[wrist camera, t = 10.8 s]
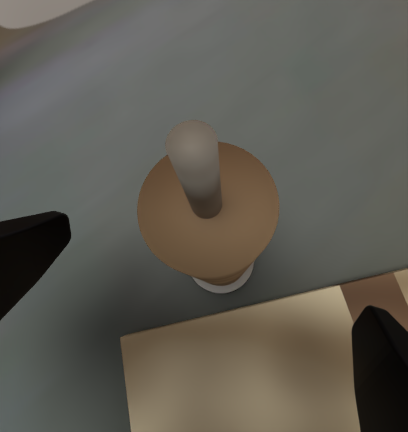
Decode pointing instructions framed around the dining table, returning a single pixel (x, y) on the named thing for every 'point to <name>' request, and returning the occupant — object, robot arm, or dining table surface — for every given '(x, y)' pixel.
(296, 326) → the panel
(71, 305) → the dining table surface
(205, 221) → the awl
